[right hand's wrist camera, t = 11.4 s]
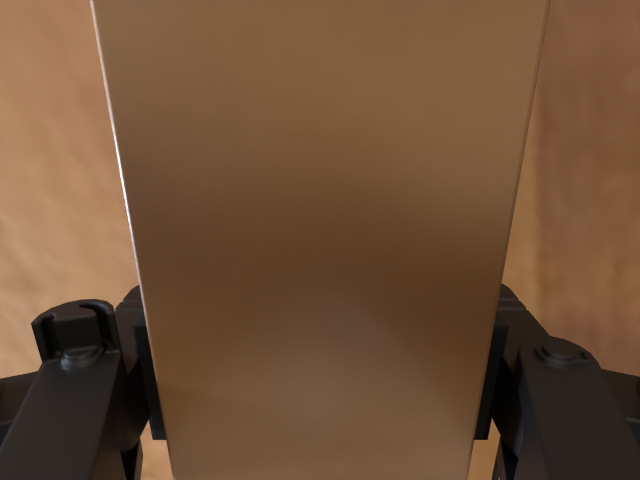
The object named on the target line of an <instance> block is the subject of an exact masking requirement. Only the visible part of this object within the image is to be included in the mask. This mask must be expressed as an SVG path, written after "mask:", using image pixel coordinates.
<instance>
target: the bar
mask: <svg viewBox="0 0 640 480" xmlns="http://www.w3.org/2000/svg"><path fill="white" fill-rule="evenodd" d="M90 5H91V10H92V16H93V22H94V28H95V33H96V39H97V45H98V51H99V56H100V62H101V68H102V74H103V79H104V85H105V91H106V96H107V102H108V108H109V114H110V119H111V125H112V131H113V137H114V142H115V148H116V154H117V159H118V165H119V171H120V177H121V182H122V188H123V194H124V200H125V205H126V211H127V217H128V222H129V228H130V234H131V240H132V245H133V251H134V257H135V263H136V268H137V274H138V280H139V286H140V291H141V297H142V303H143V308H144V314H145V320H146V326H147V331H148V337H149V343H150V349H151V354H152V360H153V366H154V371H155V377H156V383H157V389H158V394H159V400H160V406H161V412H162V417H163V423H164V429H165V434H166V440H167V446H168V452H169V457H170V463H171V469H172V475H173V480H467V477H468V472H469V466H470V460H471V454H472V449H473V443H474V437H475V431H476V426H477V420H478V414H479V408H480V403H481V397H482V391H483V385H484V380H485V374H486V368H487V362H488V357H489V351H490V345H491V339H492V334H493V328H494V322H495V316H496V311H497V305H498V299H499V293H500V288H501V282H502V276H503V270H504V265H505V259H506V253H507V247H508V242H509V236H510V230H511V224H512V219H513V213H514V207H515V201H516V196H517V190H518V184H519V178H520V173H521V167H522V161H523V155H524V149H525V144H526V138H527V132H528V126H529V121H530V115H531V109H532V103H533V98H534V92H535V86H536V80H537V75H538V69H539V63H540V57H541V52H542V46H543V40H544V34H545V29H546V23H547V17H548V11H549V6H550V0H90Z"/></svg>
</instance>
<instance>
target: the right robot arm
mask: <svg viewBox="0 0 640 480" xmlns="http://www.w3.org/2000/svg"><path fill="white" fill-rule="evenodd" d="M31 325H32V329H33V332H34V336H35V339H36V343H37V346H38V350H39V353H40V356H41V360H42V364H41V366H40V368H39V370H38V371H36V372H32V373H27V374H22V375H17V376H12V377H7V378H2V379H0V480H140V477H141V469H142V461H143V451H142V445H141V440H140V436H141V434H142V432H143V430H144V428H145V426H146V424H147V422H148V419H149V423H150V428H151V433H152V438H153V440H166V434H165V429H164V423H163V417H162V412H161V406H160V400H159V394H158V389H157V383H156V377H155V371H154V366H153V360H152V354H151V349H150V343H149V337H148V331H147V326H146V320H145V314H144V308H143V303H142V297H141V291H140V286H139V285H138V286H136V287H135V288H133V289H131V291H130V292H129V293H128V294H127V295H126V297H125V298H124V299H123V300H122V302H120V304H119V305H118V306H117V307H116V308H115V312H114V308H113V305H111V304H110V303H108V302H107V301H103V300H98V299H86V300H77V301H72V302H67V303H64V304H61V305H59V306H56V307H53V308H51V309H49V310H47V311H45V312H44V313H42V314H40V315H39V316H38V317H37V318H36V319H35V320H34V321H33V322H32V323H31ZM491 419H493V421H494V423H495V425H496V427H497V429H498V431H499V433H500V440H499V445H498V450H497V455H496V460H495V465H494V470H493V475H492V480H498V478H499V476H500V480H640V377H638V376H633V375H628V374H623V373H618V372H613V371H608V370H604V369H601V368H600V366H599V364H598V362H597V361H596V359H595V358H594V357H593V356H592V354H591V353H589V352H588V351H586V350H585V349H583V348H582V347H580V346H579V345H577V344H574V343H572V342H570V341H567V340H565V339H561V338H556V337H552V336H550V335H549V334H548V333H547V332H546V331H545V330H544V328H543V327H542V326H541V325H540V324H539V323H538V321H537V320H536V319H535V318H534V317H533V315H532V314H531V313H530V312H529V311H528V310H526V307H525V306H524V305H523V304H522V303H521V301H518V298H517V297H516V295H515V294H514V293H513V292H512V291H511V290H510V288H509V287H507V286H505V285H503V284H502V283H501V288H500V293H499V299H498V305H497V311H496V316H495V322H494V328H493V334H492V339H491V345H490V351H489V357H488V362H487V368H486V374H485V380H484V385H483V391H482V397H481V403H480V408H479V414H478V420H477V426H476V431H475V437H474V440H488V435H489V429H490V424H491Z"/></svg>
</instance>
